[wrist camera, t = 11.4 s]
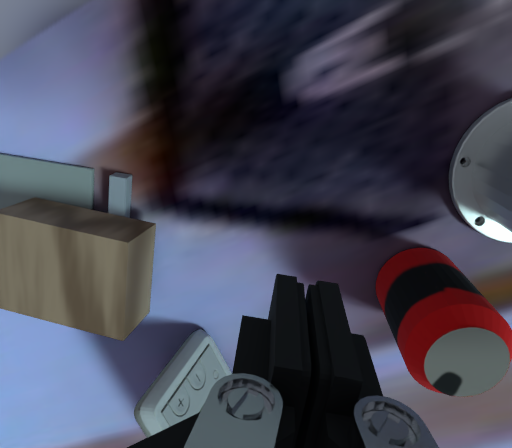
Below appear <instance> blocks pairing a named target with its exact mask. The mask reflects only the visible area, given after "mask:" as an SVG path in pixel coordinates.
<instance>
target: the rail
mask: <svg viewBox="0 0 512 448" xmlns="http://www.w3.org/2000/svg"><path fill="white" fill-rule="evenodd" d="M131 189H132V175H130V174H124V173H118V172H115V173H114V174H112V175H110V179H109V205H108V213H109V214H114V215H118V216H123V217H127V218H130V207H131Z"/></svg>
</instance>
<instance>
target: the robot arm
mask: <svg viewBox="0 0 512 448" xmlns="http://www.w3.org/2000/svg"><path fill="white" fill-rule="evenodd" d="M462 158H464V161H463V162H462V163H460V160H461V159H462ZM449 191H450V194H451V198H452V202H453V204H454V206H455V208H456V210H457V212H458V213H459V215H460V216H461V217H462V218H463V219H464V221H465V222H466V223H467V224H468V225H470V226H471V227H472V228H473V229H474V230H476V231H478V232H479V233H481V234H482V235H484V236H486V237H488V238H491V239H494V240H497V241H501V242H507V243H512V98H511V99H508V100H506V101H503V102H501V103H499V104H497V105H496V106H494V107H492V108H491V109H489V110H488V111H486V112H485V113H484V114H483V115H481V116H480V117H479V118H478V119H477V120H476V121H475V122H473V124H472V125H471V126H470V127H469V129H468V130H467V131H466V132H465V133H464V135H463V136H462V138H461V140H460V142H459V143H458V145H457V147H456V149H455V152H454V154H453V157H452V160H451V164H450V170H449ZM477 217H478V219H477V220H476V221H475V219H476V218H477ZM127 448H439V447H438V445H437V443H436V442H435V440H434V438H433V437H432V435H431V433H430V431H429V430H428V428H427V426H426V425H425V423H424V422H423V420H422V419H421V418H420V417H419V415H418V414H416V413H415V412H414V411H413V410H412V409H411V408H409V407H408V406H406V405H404V404H403V403H401V402H399V401H396V400H394V399H391V398H388V397H383V394H382V391H381V388H380V385H379V382H378V378H377V375H376V372H375V369H374V365H373V362H372V359H371V356H370V353H369V349H368V346H367V343H366V340H365V338H364V336H363V335H358V334H352V333H351V332H350V328H349V324H348V320H347V317H346V313H345V309H344V305H343V301H342V298H341V294H340V290H339V286H338V284H336V283H330V282H323V281H317V282H316V285H309V286H308V289H307V294H306V298H305V293H304V284H303V283H297V277H293V276H287V275H281V274H277V275H276V279H275V284H274V290H273V295H272V301H271V306H270V311H269V317H268V320H267V319H261V318H255V317H249V316H243V315H242V321H241V327H240V333H239V338H238V344H237V350H236V356H235V361H234V367H233V373H232V374H231V375H228V376H225V377H223V378H221V379H220V380H218V381H217V382H216V383H215V384H214V385H213V387H212V388H211V390H210V392H209V395H208V397H207V399H206V401H205V403H204V405H203V407H202V410H201V412H199V413H197V414H195V415H193V416H191V417H189V418H187V419H185V420H183V421H181V422H178V423H176V424H174V425H172V426H170V427H168V428H166V429H164V430H162V431H160V432H158V433H156V434H154V435H152V436H150V437H148V438H146V439H144V440H142V441H140V442H138V443H136V444H134V445H131V446H129V447H127Z"/></svg>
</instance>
